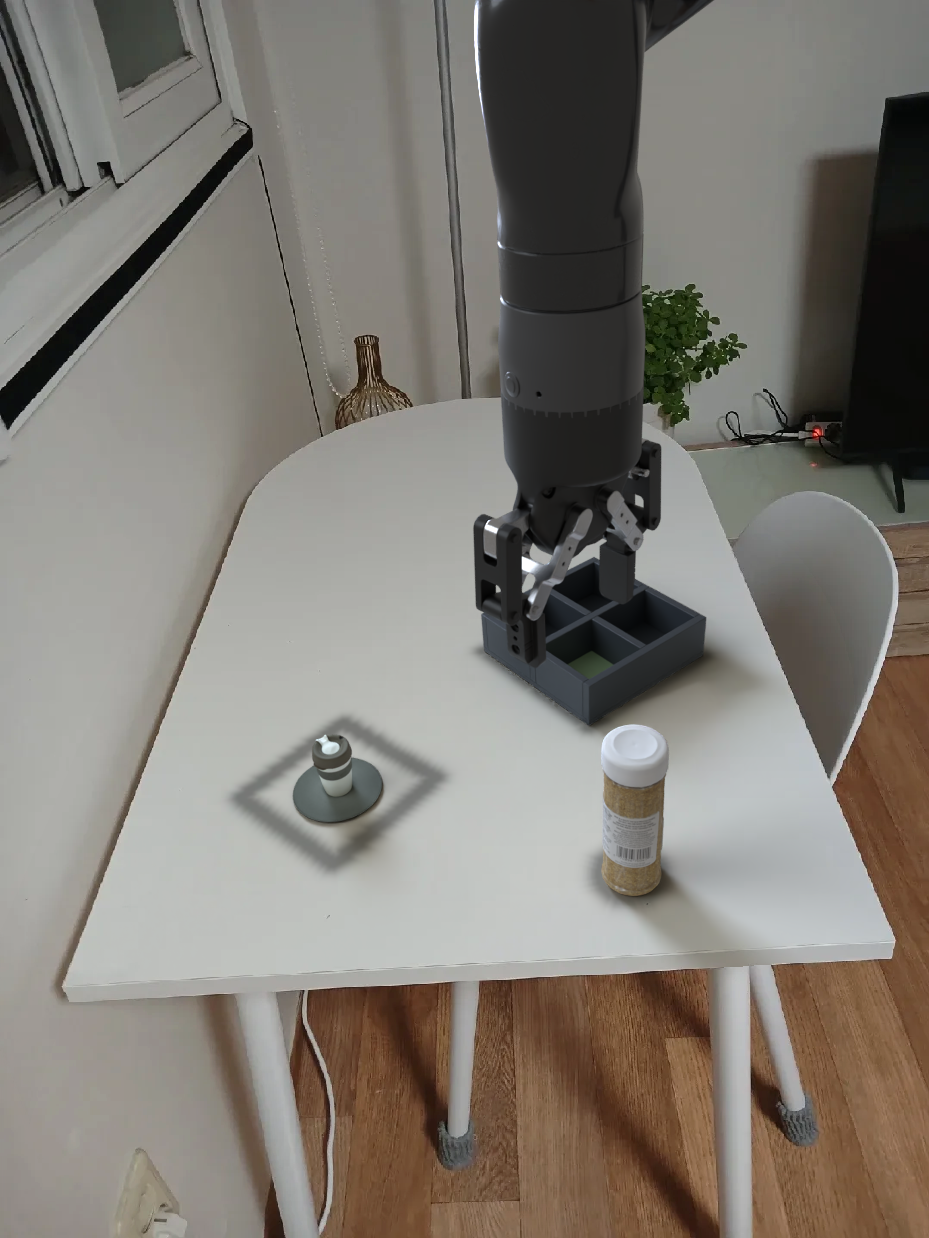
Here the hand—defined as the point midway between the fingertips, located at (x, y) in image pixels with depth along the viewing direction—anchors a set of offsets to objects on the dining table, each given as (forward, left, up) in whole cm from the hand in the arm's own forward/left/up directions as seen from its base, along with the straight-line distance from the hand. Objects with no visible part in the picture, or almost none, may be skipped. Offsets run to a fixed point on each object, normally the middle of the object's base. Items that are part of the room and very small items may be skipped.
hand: (574, 627), depth 59 cm
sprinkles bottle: (-3, -3, -24) cm, 24 cm away
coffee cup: (+20, +9, -24) cm, 32 cm away
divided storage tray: (+19, -20, -23) cm, 36 cm away
